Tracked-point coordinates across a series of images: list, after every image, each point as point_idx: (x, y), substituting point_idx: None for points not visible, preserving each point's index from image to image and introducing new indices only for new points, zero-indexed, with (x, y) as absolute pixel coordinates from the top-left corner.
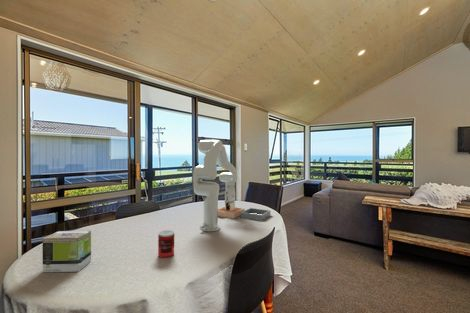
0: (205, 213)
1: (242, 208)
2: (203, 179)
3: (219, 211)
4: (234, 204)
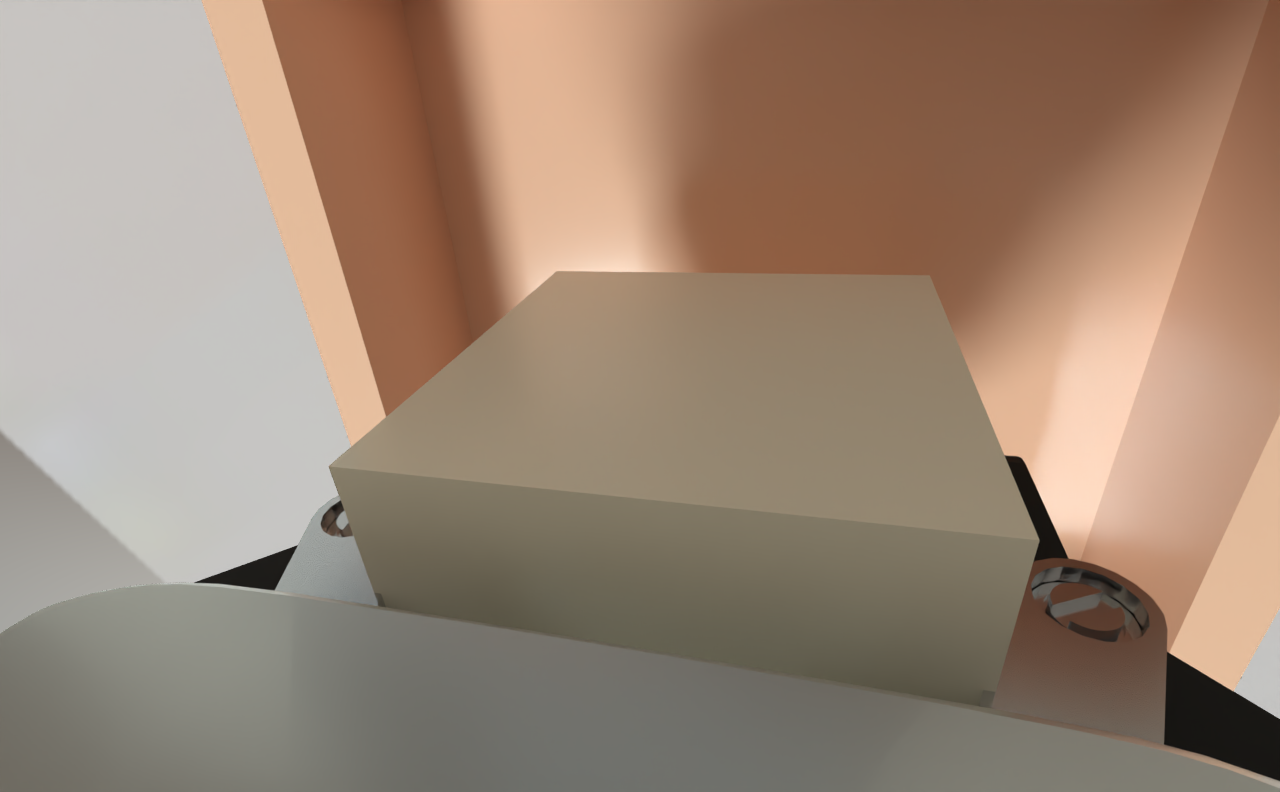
0: None
1: (232, 3)
2: None
3: (1239, 653)
4: (498, 369)
